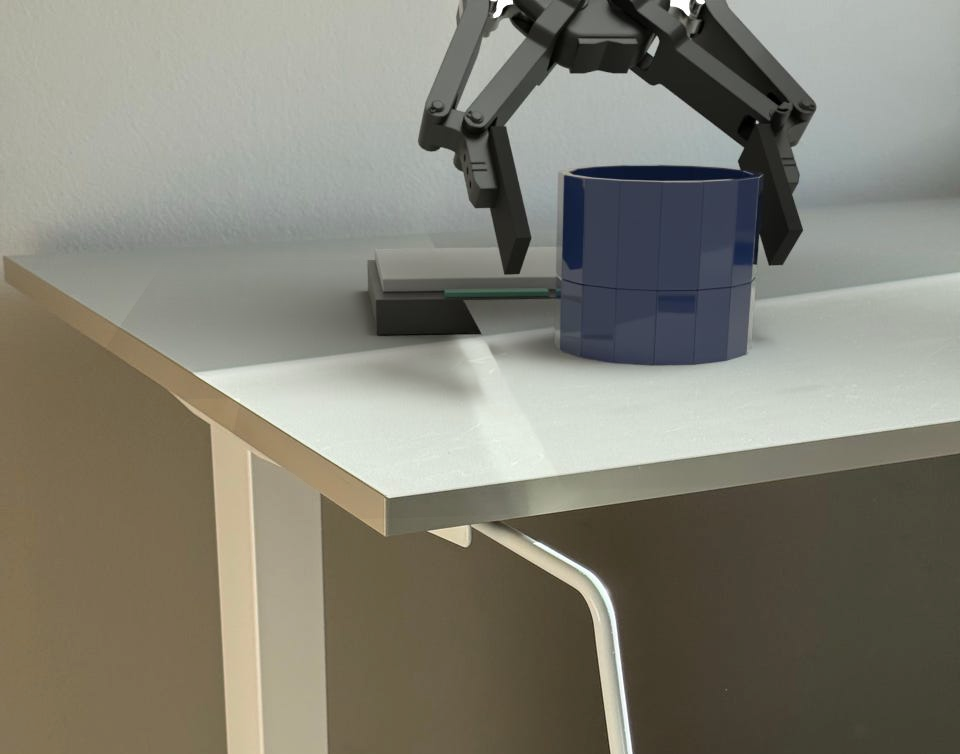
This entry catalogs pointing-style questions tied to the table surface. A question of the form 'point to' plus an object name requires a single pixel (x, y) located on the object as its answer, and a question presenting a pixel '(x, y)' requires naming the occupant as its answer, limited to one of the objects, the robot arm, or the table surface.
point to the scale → (449, 286)
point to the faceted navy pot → (656, 262)
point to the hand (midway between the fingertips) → (655, 253)
